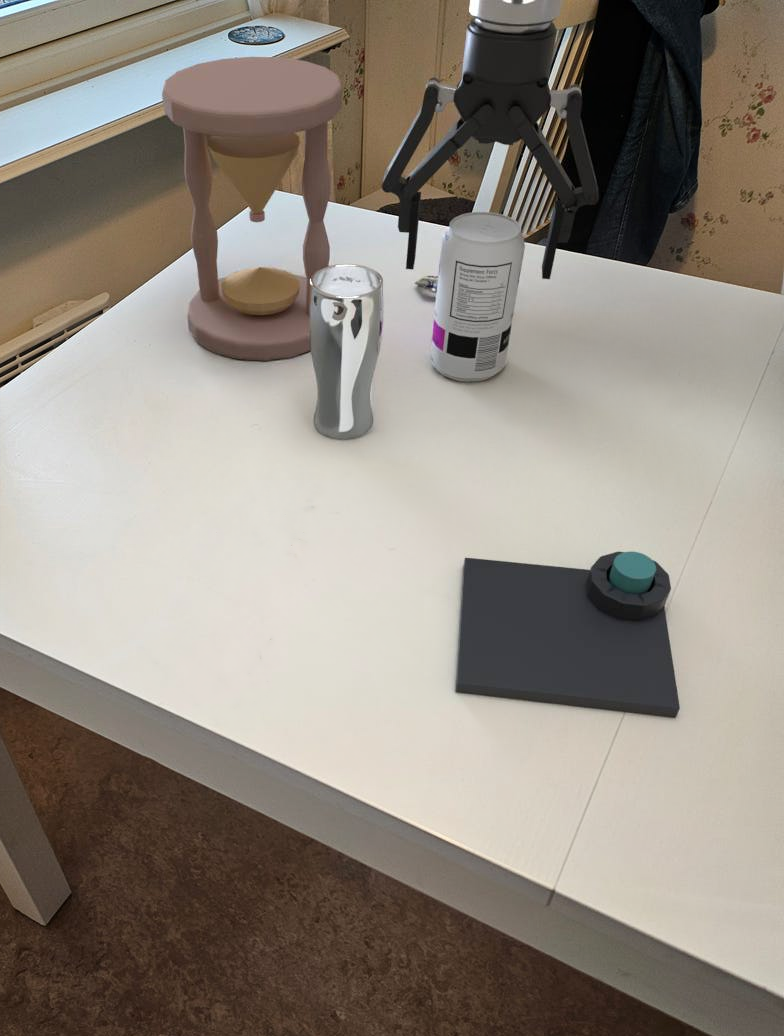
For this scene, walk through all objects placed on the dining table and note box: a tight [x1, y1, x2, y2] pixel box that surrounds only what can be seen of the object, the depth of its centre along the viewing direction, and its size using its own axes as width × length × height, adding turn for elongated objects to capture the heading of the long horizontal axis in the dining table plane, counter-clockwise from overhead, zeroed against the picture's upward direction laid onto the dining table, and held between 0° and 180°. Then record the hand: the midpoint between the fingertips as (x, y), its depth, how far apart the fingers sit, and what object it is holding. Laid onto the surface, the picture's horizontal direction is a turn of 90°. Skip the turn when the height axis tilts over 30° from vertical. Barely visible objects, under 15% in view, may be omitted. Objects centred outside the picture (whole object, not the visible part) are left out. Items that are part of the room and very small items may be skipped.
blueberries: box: [414, 275, 438, 298], centre depth 110 cm, size 7×8×2 cm
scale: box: [454, 551, 681, 719], centre depth 70 cm, size 16×15×3 cm
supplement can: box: [429, 211, 526, 383], centre depth 93 cm, size 8×8×15 cm
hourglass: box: [161, 56, 343, 361], centre depth 97 cm, size 18×18×25 cm
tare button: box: [609, 551, 656, 594], centre depth 71 cm, size 3×3×2 cm
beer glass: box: [308, 263, 384, 440], centre depth 86 cm, size 7×7×15 cm
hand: (477, 268), depth 91 cm, fingers open, 13 cm apart
